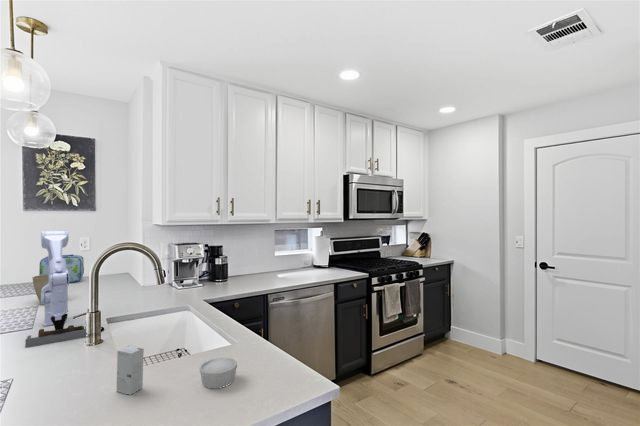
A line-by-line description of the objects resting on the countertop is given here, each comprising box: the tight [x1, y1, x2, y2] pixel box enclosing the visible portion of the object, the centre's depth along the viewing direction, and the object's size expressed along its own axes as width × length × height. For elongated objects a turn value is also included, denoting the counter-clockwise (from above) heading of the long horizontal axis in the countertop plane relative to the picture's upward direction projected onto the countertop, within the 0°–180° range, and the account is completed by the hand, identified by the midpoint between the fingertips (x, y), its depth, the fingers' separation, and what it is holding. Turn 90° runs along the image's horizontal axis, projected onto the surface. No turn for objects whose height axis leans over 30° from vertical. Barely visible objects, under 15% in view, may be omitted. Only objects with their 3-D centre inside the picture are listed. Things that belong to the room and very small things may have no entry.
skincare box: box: [116, 344, 145, 396], centre depth 100 cm, size 6×4×12 cm
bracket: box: [24, 326, 87, 348], centre depth 140 cm, size 7×20×3 cm, turn 125°
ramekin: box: [199, 357, 238, 389], centre depth 105 cm, size 11×11×5 cm
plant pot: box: [32, 274, 50, 306], centre depth 195 cm, size 15×15×16 cm
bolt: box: [37, 324, 85, 337], centre depth 142 cm, size 6×5×15 cm
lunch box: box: [38, 254, 85, 283], centre depth 252 cm, size 26×11×21 cm, turn 115°
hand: (59, 332), depth 144 cm, fingers closed
